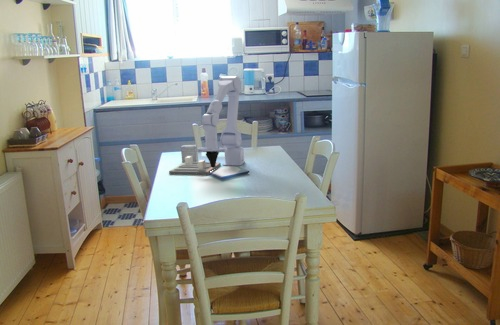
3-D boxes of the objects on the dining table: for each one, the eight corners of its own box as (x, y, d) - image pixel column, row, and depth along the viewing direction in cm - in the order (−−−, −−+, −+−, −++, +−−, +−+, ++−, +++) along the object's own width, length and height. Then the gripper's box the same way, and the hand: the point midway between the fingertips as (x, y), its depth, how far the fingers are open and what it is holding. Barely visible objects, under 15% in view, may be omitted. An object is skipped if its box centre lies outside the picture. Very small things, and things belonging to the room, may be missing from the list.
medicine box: (198, 160, 247) (197, 144, 245) (196, 162, 242) (195, 146, 240) (184, 160, 248) (182, 145, 246) (182, 162, 243) (180, 146, 241)
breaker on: (192, 163, 233) (192, 156, 232) (189, 165, 229) (189, 157, 228) (188, 163, 233) (187, 155, 232) (185, 165, 230) (184, 157, 229)
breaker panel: (220, 165, 232) (220, 161, 232) (208, 175, 215) (207, 170, 215) (184, 165, 238) (183, 160, 237) (169, 174, 221) (168, 169, 220)
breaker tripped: (205, 167, 222) (205, 159, 222) (202, 170, 219) (202, 161, 218) (201, 167, 223) (200, 159, 222) (198, 170, 219) (197, 161, 218)
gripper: (193, 140, 214) (196, 168, 217) (223, 140, 210) (225, 169, 213) (199, 137, 221) (201, 165, 224) (227, 137, 217) (229, 165, 220)
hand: (213, 166), depth 219 cm, fingers closed
